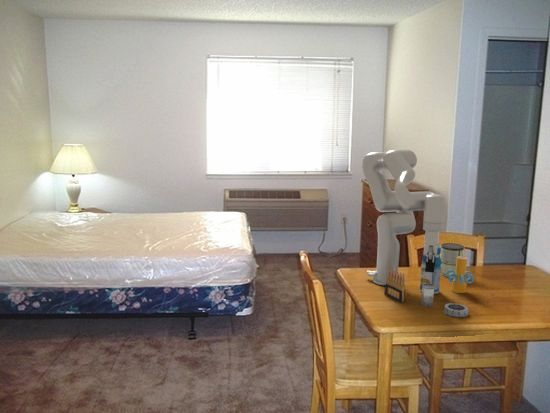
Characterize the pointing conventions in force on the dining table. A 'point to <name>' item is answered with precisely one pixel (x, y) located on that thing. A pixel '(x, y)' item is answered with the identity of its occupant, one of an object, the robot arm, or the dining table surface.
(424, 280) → the blue lidded canister
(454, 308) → the duct flange
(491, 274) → the dining table surface
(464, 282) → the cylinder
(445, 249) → the coffee can
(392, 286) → the ammunition clip
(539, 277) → the dining table surface
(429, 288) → the silver metal cylinder
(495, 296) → the dining table surface
